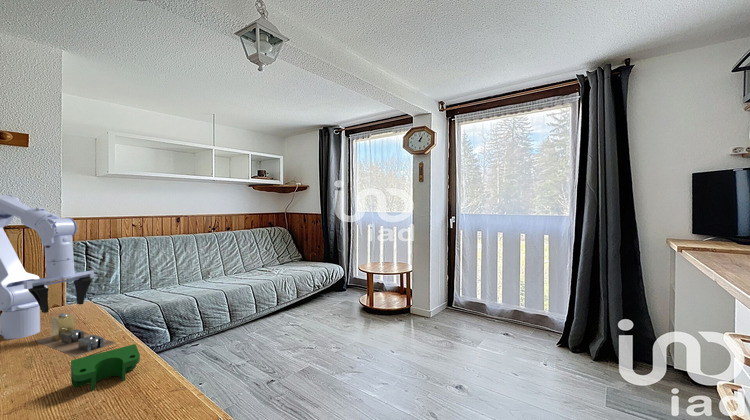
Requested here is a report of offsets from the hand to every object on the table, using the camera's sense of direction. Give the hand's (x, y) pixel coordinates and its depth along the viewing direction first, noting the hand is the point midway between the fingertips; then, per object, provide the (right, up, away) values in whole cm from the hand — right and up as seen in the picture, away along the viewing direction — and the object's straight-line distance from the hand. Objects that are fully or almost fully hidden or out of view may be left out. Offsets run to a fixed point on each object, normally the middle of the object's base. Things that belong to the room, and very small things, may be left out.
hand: (63, 308), depth 91 cm
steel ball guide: (+9, -9, -4) cm, 13 cm away
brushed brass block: (0, -9, 0) cm, 9 cm away
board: (+6, -10, -3) cm, 12 cm away
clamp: (+29, -10, -20) cm, 37 cm away
